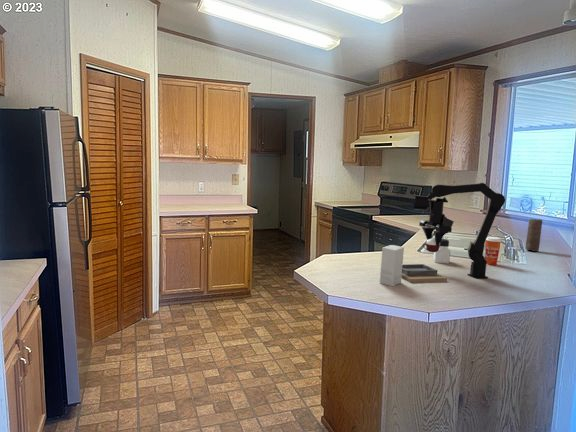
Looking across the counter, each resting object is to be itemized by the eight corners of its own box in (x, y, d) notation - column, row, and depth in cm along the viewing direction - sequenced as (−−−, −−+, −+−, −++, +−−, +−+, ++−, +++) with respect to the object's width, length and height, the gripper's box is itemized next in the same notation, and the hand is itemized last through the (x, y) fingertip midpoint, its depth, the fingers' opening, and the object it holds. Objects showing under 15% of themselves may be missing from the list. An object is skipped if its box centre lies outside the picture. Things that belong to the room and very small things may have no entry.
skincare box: (388, 279, 189) (390, 244, 187) (402, 283, 185) (405, 246, 183) (378, 283, 182) (381, 246, 180) (393, 286, 178) (396, 249, 176)
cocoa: (421, 251, 206) (422, 226, 205) (426, 249, 211) (426, 224, 209) (441, 254, 200) (442, 228, 199) (445, 251, 205) (446, 226, 204)
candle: (539, 253, 264) (543, 220, 261) (525, 251, 267) (529, 219, 264) (538, 251, 271) (541, 219, 268) (524, 249, 274) (528, 218, 271)
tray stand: (447, 281, 190) (447, 273, 190) (409, 282, 186) (410, 274, 185) (420, 268, 211) (420, 261, 211) (386, 269, 207) (386, 262, 206)
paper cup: (482, 264, 226) (484, 237, 225) (483, 261, 233) (485, 235, 231) (498, 266, 223) (501, 239, 221) (499, 263, 230) (502, 237, 228)
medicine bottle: (449, 263, 224) (451, 241, 223) (434, 262, 226) (436, 239, 224) (447, 260, 231) (449, 238, 230) (433, 259, 233) (435, 237, 231)
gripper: (463, 214, 196) (460, 248, 198) (440, 209, 214) (437, 240, 216) (441, 213, 194) (438, 248, 196) (420, 208, 212) (417, 240, 214)
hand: (433, 244), depth 206 cm, fingers closed on cocoa, 7 cm apart
